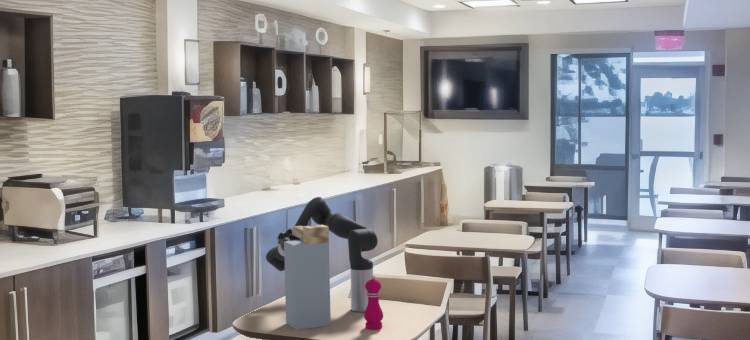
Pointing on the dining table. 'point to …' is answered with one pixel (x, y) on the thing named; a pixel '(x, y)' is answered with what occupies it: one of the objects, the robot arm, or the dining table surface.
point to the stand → (307, 284)
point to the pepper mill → (373, 305)
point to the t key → (312, 233)
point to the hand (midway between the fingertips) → (300, 229)
